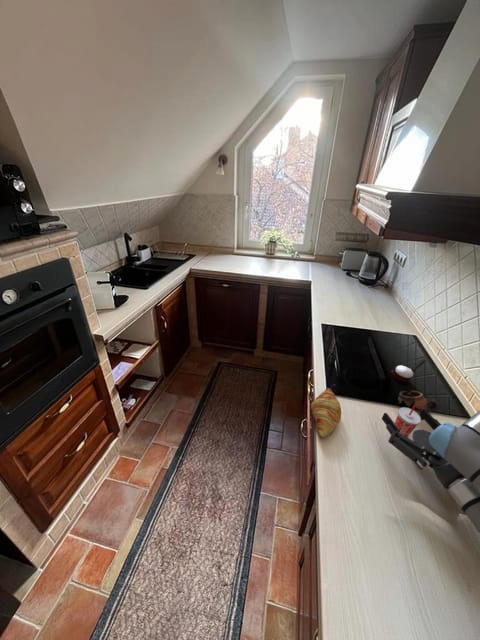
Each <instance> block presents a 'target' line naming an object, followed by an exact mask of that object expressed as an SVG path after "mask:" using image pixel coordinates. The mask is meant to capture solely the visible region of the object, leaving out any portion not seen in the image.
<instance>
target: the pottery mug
mask: <svg viewBox="0 0 480 640" xmlns="http://www.w3.org/2000/svg"><path fill="white" fill-rule="evenodd" d="M397 400H398V403H399V405H400V404H402V403H403V402H404V403H405V405H406V406H407V407H408V408H410V407H411V405H412V404H413V403H414V404H416V406H415V408H416V409H417V410H418V411H419V413H417V414H418V415H419V416H420V418H421V421H425V420H424V419H423V418H422V417H421V415H420V413H421V412H422V410H423V409H426V410H427V411H428V413H430V412H433V411H435V410H437V408H438V407H439V403H438V401H437V400H436V399H434V398H426V397H425V396H424V394H423V392H420V391H416V390H410V392H409V391H408V390H402V391H399V394H398V397H397ZM430 404H431V405H430Z"/></svg>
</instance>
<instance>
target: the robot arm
mask: <svg viewBox="0 0 480 640" xmlns="http://www.w3.org/2000/svg"><path fill="white" fill-rule="evenodd" d="M419 414H420V415H421V417H422V418H423V419H424V420H423V421H425V423H426V424H427V425H428V426H429V427H430V428H431V429H432V430H433V431H432V432H430V433H431V435H430V437H429V443H430V445H431V446H432V447H429V448H428V447H426V446H421V445H420V444H418V443H416V442H414V440H413V439H411V438H409V437H408V438H407V437H405V436H403V435H402V434H400V433H399V432H400V430H399V429H398V427H397V426H396V425H395V421H393V419H392V418H391V417H390V415H389V414H388V413H387V412H384V413H383V414H382V416H381V420H382V422H383V423H384V424H385V429H386V430H387V431H388V432H389V434H390V437H389V438H388V443H389V444H390V445H392V446H393V447H394V448H396V449H397V450H398V452H400V453H401V454H402V455H404V456H405V457H407V459H409V460H410V461H412V462H413V463H414V465H416V467H417V468H418V469H419V470H420V471H423V470H424V469H425V468H427V467H429V468H431V469H432V470H433V472H434V474H435V477H436V478H437V480H438V481H439V482H440V484H441V485H442V486H443V488H445V490H448V494H449V495H450V496H451V498H452V499H453V500H454V502H455V503H456V504H457V506H458V507H459V508H460V510H462V513H464V514H465V516H466V517H467V518H468V520H469V521H470V523H472V525H473V526H474V527H475V529H476V530H477V532H478V533H479V534H480V410H479V411H477V412H476V413H475V414H473V415H472V416H471V417H470V418H468V419H467V420H466V421H464V422H463V423H462V424H461V425H459V426H458V427H457V426H456V425H454V424H452V423H450V422H444V423H442V424H441V422H439V420H438V419H436V418H434V416H432V415H431V413H430V412H428V411H427V410H426V409H423V410H422V412H421V413H420V412H419ZM398 437H399V438H400V439H399V438H398ZM425 451H426V452H425Z"/></svg>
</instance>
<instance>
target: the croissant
mask: <svg viewBox="0 0 480 640" xmlns="http://www.w3.org/2000/svg"><path fill="white" fill-rule="evenodd" d="M310 409H311V411H312V412H311V413H312V416H313V418H314V420H315V426H316V427H317V429H318V430H317V431H318V434H319V437H321V438H322V439H323V438H327V437H328V436H329V435H330V434H332V433H333V431H335V429H336V428H337V425H338V424H339V423H340V422H341V419H342V406H341V403H340V401H339V400H338V398H337V396H335V393H334V392H333V391H332V389H331V388H329V387H327V388H326V389H325V390H323V391H322V392H321V393H319V395H318V396H317V397H315V399H314V400H313V401H312V402H311V403H310Z"/></svg>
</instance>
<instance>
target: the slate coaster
mask: <svg viewBox="0 0 480 640" xmlns="http://www.w3.org/2000/svg"><path fill="white" fill-rule="evenodd" d="M431 433H432V432H430V431H428V430H425V429H415V430H413V431H412V441H414V442H416V443H418V444H420V445H421V446H426V447H428V448H429V447H432V446H431V445H430V443H429V437H430V435H431ZM425 452H426V451H425ZM425 452H424V453H425Z"/></svg>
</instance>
